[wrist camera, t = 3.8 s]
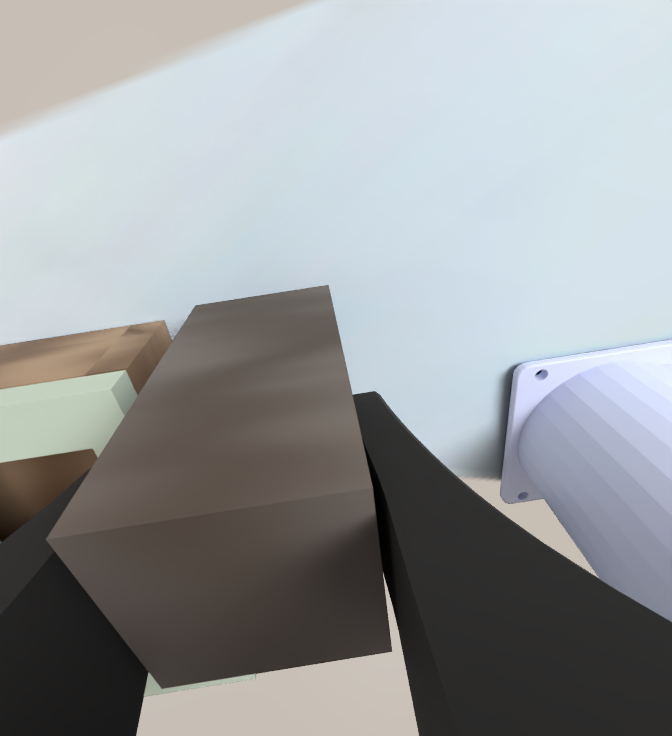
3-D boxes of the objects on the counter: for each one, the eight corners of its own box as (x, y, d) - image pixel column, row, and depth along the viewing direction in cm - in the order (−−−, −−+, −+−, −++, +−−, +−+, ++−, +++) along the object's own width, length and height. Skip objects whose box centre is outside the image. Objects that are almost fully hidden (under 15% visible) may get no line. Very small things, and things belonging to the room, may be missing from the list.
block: (328, 284, 12) (373, 487, 5) (344, 395, 14) (391, 651, 7) (195, 305, 12) (45, 539, 5) (230, 413, 14) (161, 689, 7)
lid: (125, 370, 11) (59, 455, 8) (257, 654, 19) (249, 751, 16) (-304, 436, 11) (-538, 549, 8) (9, 694, 19) (-46, 799, 16)
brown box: (163, 320, 14) (127, 368, 11) (263, 582, 22) (257, 652, 19) (-170, 371, 14) (-300, 434, 11) (50, 616, 22) (11, 691, 19)
